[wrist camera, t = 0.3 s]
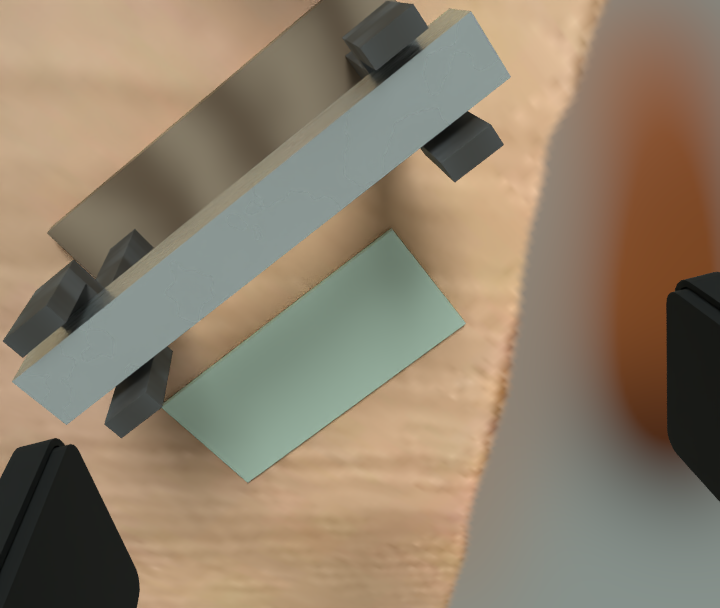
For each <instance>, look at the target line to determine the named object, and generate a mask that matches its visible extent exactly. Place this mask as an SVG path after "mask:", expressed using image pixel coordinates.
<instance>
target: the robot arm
mask: <svg viewBox="0 0 720 608" xmlns="http://www.w3.org/2000/svg"><path fill="white" fill-rule="evenodd" d="M666 307H667V308H666V310H667V431H668V436H669V440H670V443H671V445H672V447H673V449H674V451H675V452H676V453H677V455H679V457H680V458H681V459H682V460H683V461H684V462H685V463H686V465H687V466H688V467H689V468H690V469H691V470H692V471H693V472H694V473H695V475H697V477H698V478H699V479H700V480H701V481H702V482H703V483H704V485H705V486H706V487H707V488H708V489H709V490H710V491H711V492H712V494H713V495H714V496H715V497H716V498H717V499H718V500H719V501H720V272H713V273H709V274H705V275H701V276H697V277H694V278H689V279H686V280H681V281H680V282H679V283H678V284H677V286H676V288H675V292H671V293H670V294H669V295H668V297H667V304H666ZM139 591H140V589H139V578H138V574H137V570H136V568H135V566H134V564H133V562H132V560H131V557H130V555H129V553H128V551H127V549H126V547H125V545H124V543H123V541H122V539H121V537H120V535H119V533H118V531H117V529H116V527H115V524H114V522H113V520H112V518H111V516H110V514H109V512H108V510H107V508H106V506H105V504H104V502H103V500H102V498H101V496H100V494H99V491H98V489H97V487H96V485H95V483H94V481H93V479H92V477H91V475H90V473H89V471H88V469H87V467H86V465H85V463H84V461H83V458H82V456H81V454H80V452H79V451H78V449H77V448H76V447H75V446H74V445H72V444H69V445H66V446H65V445H64V443H63V442H62V441H61V440H60V439H57V438H54V439H50V440H46V441H42V442H39V443H35V444H31V445H27V446H23V447H19V448H17V449H16V450H15V451H14V453H13V454H12V456H11V458H10V460H9V462H8V464H7V466H6V468H5V470H4V472H3V474H2V476H1V478H0V608H137V604H138V598H139Z"/></svg>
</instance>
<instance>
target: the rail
mask: <svg viewBox="0 0 720 608" xmlns="http://www.w3.org/2000/svg"><path fill="white" fill-rule="evenodd" d="M510 77H511V76H510V75H509V73H508V71H507V70H506V68H505V66H504V65H503V63H502V61H501V60H500V58H499V57H498V55H497V53H496V52H495V50H494V48H493V47H492V45H491V43H490V42H489V40H488V38H487V37H486V35H485V33H484V32H483V30H482V29H481V27H480V25H479V24H478V22H477V20H476V19H475V17H474V15H473V14H472V12H471V11H466V10H458V9H450V8H449V9H448V10H447V11H446V12H444V13H443V14H442V15H441V16H439V17H438V18H437V19H436V20H434V21H433V22H432V23H431V24H430V25H428V29H427V30H426V31H425V32H423V33H422V34H421V35H420V36H418V37H417V38H416V39H415V40H414V41H412V42H411V43H410V44H409V45H407V46H406V47H405V48H404V49H402V50H401V51H400V52H399V53H397V54H396V55H395V56H394V57H393V58H391V59H390V60H389V61H388V62H386V63H385V64H384V65H383V66H381V67H380V68H379V69H378V70H377V71H376V70H373V71H372V72H370V73H369V74H368V75H367V76H366V77H364V78H363V79H362V80H361V81H359V82H358V83H357V84H356V85H354V86H353V87H352V88H351V89H350V90H348V91H347V92H346V93H345V94H343V95H342V96H341V97H340V98H338V99H337V100H336V101H335V102H334V103H332V104H331V105H330V106H329V107H327V108H326V109H325V110H324V111H322V112H321V113H320V114H319V115H318V116H316V117H315V118H314V119H313V120H311V121H310V122H309V123H308V124H306V125H305V126H304V127H303V128H302V129H300V130H299V131H298V132H297V133H295V134H294V135H293V136H292V137H290V138H289V139H288V140H287V141H286V142H284V143H283V144H282V145H281V146H279V147H278V148H277V149H276V150H274V151H273V152H272V153H271V154H270V155H268V156H267V157H266V158H265V159H263V160H262V161H261V162H260V163H258V164H257V165H256V166H255V167H254V168H252V169H251V170H250V171H249V172H247V173H246V174H245V175H244V176H242V177H241V178H240V179H239V180H238V181H236V182H235V183H234V184H233V185H231V186H230V187H229V188H228V189H226V190H225V191H224V192H223V193H222V194H220V195H219V196H218V197H217V198H215V199H214V200H213V201H212V202H210V203H209V204H208V205H207V206H206V207H204V208H203V209H202V210H201V211H199V212H198V213H197V214H196V215H194V216H193V217H192V218H191V219H190V220H188V221H187V222H186V223H185V224H183V225H182V226H181V227H180V228H178V229H177V230H176V231H175V232H174V233H172V234H171V235H170V236H169V237H167V238H166V239H165V240H164V241H162V242H161V243H160V244H159V245H158V246H156V247H155V248H154V249H153V250H151V251H150V252H149V253H148V254H146V255H145V256H144V257H143V258H142V259H140V260H139V261H138V262H137V263H135V264H134V265H133V266H132V267H130V268H129V269H128V270H127V271H126V272H124V273H123V274H122V275H121V276H119V277H118V278H117V279H116V280H114V281H113V282H112V283H111V284H109V285H108V286H107V287H106V288H105V289H103V290H102V291H101V292H100V293H98V294H97V295H96V296H95V297H93V298H92V299H91V300H90V301H89V302H87V303H86V304H85V305H84V306H82V307H81V308H80V309H79V310H77V311H76V312H75V313H74V314H73V315H71V316H70V317H69V318H68V320H67V322H66V323H65V324H64V325H62V326H61V327H60V328H59V329H57V330H56V331H55V332H54V333H52V334H51V335H50V336H49V337H48V338H46V339H45V340H44V341H43V342H41V343H40V344H39V345H38V346H36V347H35V348H34V349H33V350H32V351H30V352H29V353H28V354H27V356H26V358H25V360H24V361H23V363H22V365H21V367H20V369H19V370H18V372H17V374H16V376H15V377H14V379H13V381H12V382H13V383H14V384H15V385H17V386H18V387H19V388H21V389H22V390H23V391H24V392H26V393H27V394H28V395H29V396H31V397H32V398H33V399H34V400H36V401H37V402H38V403H39V404H41V405H42V406H43V407H45V408H46V409H47V410H48V411H50V412H51V413H52V414H53V415H55V416H56V417H57V418H58V419H60V420H61V421H62V422H63V423H65V424H66V425H67V424H68V423H70V422H71V421H72V420H73V419H75V418H76V417H77V416H78V415H80V414H81V413H82V412H84V411H85V410H86V409H87V408H89V407H90V406H91V405H93V404H94V403H95V402H96V401H98V400H99V399H100V398H101V397H103V396H104V395H105V394H107V393H108V392H109V391H110V390H112V389H113V388H114V387H116V386H117V385H118V384H119V383H121V382H122V381H123V380H124V379H126V378H127V377H128V376H130V375H131V374H132V373H133V372H135V371H136V370H137V369H139V368H140V367H141V366H142V365H144V364H145V363H146V362H147V361H149V360H150V359H151V358H153V357H154V356H155V355H156V354H158V353H159V352H160V351H162V350H163V349H164V348H165V347H167V346H168V345H169V344H170V343H172V342H173V341H174V340H176V339H177V338H178V337H179V336H181V335H182V334H183V333H185V332H186V331H187V330H188V329H190V328H191V327H192V326H193V325H195V324H196V323H197V322H199V321H200V320H201V319H202V318H204V317H205V316H206V315H207V314H209V313H210V312H211V311H213V310H214V309H215V308H216V307H218V306H219V305H220V304H222V303H223V302H224V301H225V300H227V299H228V298H229V297H230V296H232V295H233V294H234V293H236V292H237V291H238V290H239V289H241V288H242V287H243V286H245V285H246V284H247V283H248V282H250V281H251V280H252V279H253V278H255V277H256V276H257V275H259V274H260V273H261V272H262V271H264V270H265V269H266V268H268V267H269V266H270V265H271V264H273V263H274V262H275V261H276V260H278V259H279V258H280V257H282V256H283V255H284V254H285V253H287V252H288V251H289V250H291V249H292V248H293V247H294V246H296V245H297V244H298V243H299V242H301V241H302V240H303V239H305V238H306V237H307V236H308V235H310V234H311V233H312V232H314V231H315V230H316V229H317V228H319V227H320V226H321V225H322V224H324V223H325V222H326V221H328V220H329V219H330V218H331V217H333V216H334V215H335V214H337V213H338V212H339V211H340V210H342V209H343V208H344V207H345V206H347V205H348V204H349V203H351V202H352V201H353V200H354V199H356V198H357V197H358V196H360V195H361V194H362V193H363V192H365V191H366V190H367V189H368V188H370V187H371V186H372V185H374V184H375V183H376V182H377V181H379V180H380V179H381V178H382V177H384V176H385V175H386V174H388V173H389V172H390V171H391V170H393V169H394V168H395V167H397V166H398V165H399V164H400V163H402V162H403V161H404V160H405V159H407V158H408V157H409V156H411V155H412V154H413V153H414V152H416V151H417V150H418V149H420V148H421V147H422V146H423V145H425V144H426V143H427V142H428V141H430V140H431V139H432V138H434V137H435V136H436V135H437V134H439V133H440V132H441V131H443V130H444V129H445V128H446V127H448V126H449V125H450V124H451V123H453V122H454V121H455V120H457V119H458V118H459V117H460V116H462V115H463V114H464V113H466V112H467V111H468V110H469V109H471V108H472V107H473V106H474V105H476V104H477V103H478V102H480V101H481V100H482V99H483V98H485V97H486V96H487V95H489V94H490V93H491V92H492V91H494V90H495V89H496V88H497V87H499V86H500V85H501V84H503V83H504V82H505V81H506V80H508V79H509V78H510Z"/></svg>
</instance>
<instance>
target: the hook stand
mask: <svg viewBox="0 0 720 608" xmlns="http://www.w3.org/2000/svg"><path fill="white" fill-rule="evenodd" d="M427 29H428V26H427V25H426V23H425V22H424V20H423V18H422V17H421V15H420V14H419V12H418V11H417V9H416V8H415V6H414V5H413V4H408V3H400V2H397V1H396V0H321V1H319V2H318V3H317V4H316V5H315V6H314V7H312V8H311V9H310V10H309V11H308V12H306V13H305V14H304V15H303V16H302V17H300V18H299V19H298V20H297V21H296V22H295V23H293V24H292V25H291V26H290V27H289V28H287V29H286V30H285V31H284V32H283V33H281V34H280V35H279V36H278V37H277V38H275V39H274V40H273V41H272V42H271V43H270V44H268V45H267V46H266V47H265V48H264V49H262V50H261V51H260V52H259V53H258V54H256V55H255V56H254V57H253V58H252V59H251V60H249V61H248V62H247V63H246V64H245V65H243V66H242V67H241V68H240V69H239V70H237V71H236V72H235V73H234V74H233V75H232V76H230V77H229V78H228V79H227V80H226V81H224V82H223V83H222V84H221V85H220V86H218V87H217V88H216V89H215V90H214V91H213V92H211V93H210V94H209V95H208V96H207V97H205V98H204V99H203V100H202V101H201V102H199V103H198V104H197V105H196V106H195V107H194V108H192V109H191V110H190V111H189V112H188V113H186V114H185V115H184V116H183V117H182V118H180V119H179V120H178V121H177V122H176V123H175V124H173V125H172V126H171V127H170V128H169V129H167V130H166V131H165V132H164V133H163V134H161V135H160V136H159V137H158V138H157V139H155V140H154V141H153V142H152V143H151V144H150V145H148V146H147V147H146V148H145V149H144V150H142V151H141V152H140V153H139V154H138V155H136V156H135V157H134V158H133V159H132V160H131V161H129V162H128V163H127V164H126V165H125V166H123V167H122V168H121V169H120V170H119V171H117V172H116V173H115V174H114V175H113V176H112V177H110V178H109V179H108V180H107V181H106V182H104V183H103V184H102V185H101V186H100V187H98V188H97V189H96V190H95V191H94V192H93V193H91V194H90V195H89V196H88V197H87V198H85V199H84V200H83V201H82V202H81V203H79V204H78V205H77V206H76V207H75V208H74V209H72V210H71V211H70V212H69V213H68V214H66V215H65V216H64V217H63V218H62V219H60V220H59V221H58V222H57V223H56V224H55V225H53V226H52V227H51V229H50V230H49V231H48V232H47V234H49V235H50V236H51V237H52V238H53V239H54V240H55V241H56V242H57V243H58V244H59V245H60V246H61V247H63V248H64V249H65V250H66V251H67V252H68V253H69V254H70V255H71V256H72V257H73V258H74V259H75V260H77V261H78V262H79V263H80V264H81V265H82V266H83V267H84V268H85V269H86V270H87V271H88V272H89V273H91V274H92V275H93V276H94V277H95V278H96V279H94V278H93V277H92V276H91V275H90V274H89V273H88V272H87V271H86V270H85V269H84V268H82V267H81V266H80V265H79V264H78V263H77V262H76V261H75V260H73V261H71V262H70V263H69V264H68V265H67V266H65V267H64V268H63V269H62V270H61V271H59V272H58V273H57V274H56V275H55V276H53V277H52V278H51V279H50V280H48V281H47V282H46V283H45V284H44V285H42V286H41V287H40V288H39V289H38V290H36V291H35V293H34V295H33V296H32V298H31V299H30V301H29V302H28V304H27V305H26V307H25V308H24V310H23V311H22V313H21V314H20V316H19V317H18V319H17V320H16V322H15V323H14V325H13V326H12V328H11V329H10V331H9V332H8V334H7V335H6V337H5V338H4V340H3V342H4V343H5V344H7V345H8V346H9V347H10V348H12V349H13V350H14V351H15V352H16V353H18V354H19V355H20V356H21V357H24V356H25V355H27V354H28V353H29V352H30V351H32V350H33V349H34V348H35V347H36V346H38V345H39V344H40V343H41V342H43V341H44V340H45V339H46V338H48V337H49V336H50V335H51V334H52V333H54V332H55V331H56V330H57V329H59V328H60V327H61V326H62V325H64V324H65V323H66V322H67V320H68V318H69V317H70V316H71V315H73V314H74V313H75V312H76V311H77V310H79V309H80V308H81V307H82V306H84V305H85V304H86V303H87V302H89V301H90V300H91V299H92V298H93V297H95V296H96V295H97V294H98V293H100V292H101V291H102V290H103V289H105V288H106V287H107V286H108V285H109V284H111V283H112V282H113V281H114V280H116V279H117V278H118V277H119V276H121V275H122V274H123V273H124V272H126V271H127V270H128V269H129V268H130V267H132V266H133V265H134V264H135V263H137V262H138V261H139V260H140V259H142V258H143V257H144V256H145V255H146V254H148V253H149V252H150V251H151V250H153V249H154V248H155V247H156V246H158V245H159V244H160V243H161V242H162V241H164V240H165V239H166V238H167V237H169V236H170V235H171V234H172V233H174V232H175V231H176V230H177V229H178V228H180V227H181V226H182V225H183V224H185V223H186V222H187V221H188V220H190V219H191V218H192V217H193V216H194V215H196V214H197V213H198V212H199V211H201V210H202V209H203V208H204V207H206V206H207V205H208V204H209V203H210V202H212V201H213V200H214V199H215V198H217V197H218V196H219V195H220V194H222V193H223V192H224V191H225V190H226V189H228V188H229V187H230V186H231V185H233V184H234V183H235V182H236V181H238V180H239V179H240V178H241V177H242V176H244V175H245V174H246V173H247V172H249V171H250V170H251V169H252V168H254V167H255V166H256V165H257V164H258V163H260V162H261V161H262V160H263V159H265V158H266V157H267V156H268V155H270V154H271V153H272V152H273V151H274V150H276V149H277V148H278V147H279V146H281V145H282V144H283V143H284V142H286V141H287V140H288V139H289V138H290V137H292V136H293V135H294V134H295V133H297V132H298V131H299V130H300V129H302V128H303V127H304V126H305V125H306V124H308V123H309V122H310V121H311V120H313V119H314V118H315V117H316V116H318V115H319V114H320V113H321V112H322V111H324V110H325V109H326V108H327V107H329V106H330V105H331V104H332V103H334V102H335V101H336V100H337V99H338V98H340V97H341V96H342V95H343V94H345V93H346V92H347V91H348V90H350V89H351V88H352V87H353V86H354V85H356V84H357V83H358V82H359V81H361V80H362V79H363V78H364V77H366V76H367V75H368V74H369V73H370V72H372V71H373V70H376V71H377V70H378V69H379V68H380V67H381V66H383V65H384V64H385V63H386V62H388V61H389V60H390V59H391V58H393V57H394V56H395V55H396V54H397V53H399V52H400V51H401V50H402V49H404V48H405V47H406V46H407V45H409V44H410V43H411V42H412V41H414V40H415V39H416V38H417V37H418V36H420V35H421V34H422V33H423V32H425V31H426V30H427ZM503 145H504V144H503V143H502V141H501V139H500V138H499V136H498V135H497V133H496V132H495V130H494V129H493V127H492V125H491V124H489V123H487V122H485V121H484V120H482V119H480V118H478V117H477V116H475V115H473V114H471V113H470V112H468V111H467V112H466V113H464V114H463V115H462V116H460V117H459V118H458V119H457V120H455V121H454V122H453V123H451V124H450V125H449V126H448V127H446V128H445V129H444V130H443V131H441V132H440V133H439V134H437V135H436V136H435V137H434V138H432V139H431V140H430V141H428V142H427V143H426V144H425V145H423V146H422V147H421V150H422V151H423V152H424V154H425V155H426V156H427V157H428V158H429V159H430V160H431V161H432V162H433V163H435V164H436V165H437V166H438V167H439V168H440V169H441V170H442V171H443V172H444V173H445V174H446V175H447V176H448V177H450V178H451V179H452V180H453V181H454V182H456V181H457V180H459V179H460V178H461V177H463V176H464V175H465V174H467V173H468V172H469V171H470V170H472V169H473V168H474V167H476V166H477V165H478V164H480V163H481V162H482V161H483V160H485V159H486V158H487V157H489V156H490V155H491V154H493V153H494V152H495V151H496V150H498V149H499V148H500V147H502V146H503ZM172 352H173V351H172V350H171V349H170V348H169V347H168V346H167V347H165V348H164V349H163V350H162V351H160V352H159V353H158V354H156V355H155V356H154V357H153V358H151V359H150V360H149V361H147V362H146V363H145V364H144V365H142V366H141V367H140V368H139V369H137V370H136V371H135V372H133V373H132V374H131V375H130V376H128V377H127V378H126V379H124V380H123V381H122V382H121V383H119V384H118V385H117V386H116V388H115V391H114V394H113V398H112V401H111V404H110V407H109V411H108V414H107V417H106V420H105V425H106V426H107V427H108V428H109V429H111V430H112V431H113V432H114V433H116V434H117V435H118V436H119V437H120V438H122V437H124V436H125V435H126V434H128V433H129V432H130V431H132V430H133V429H134V428H135V427H137V426H138V425H139V424H141V423H142V422H143V421H145V420H146V419H147V418H149V417H150V416H151V415H152V414H154V413H155V412H156V411H158V410H159V409H160V408H162V407H163V402H164V396H165V391H166V385H167V380H168V374H169V369H170V363H171V358H172Z"/></svg>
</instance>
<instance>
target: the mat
mask: <svg viewBox="0 0 720 608" xmlns="http://www.w3.org/2000/svg"><path fill="white" fill-rule="evenodd" d="M464 324H466V323H465V322H464V320H463V319H462V318H461V316H460V315H459V314H458V313H457V311H456V310H455V309H454V308H453V306H452V305H451V304H450V302H449V301H448V300H447V299H446V297H445V296H444V295H443V293H442V292H441V291H440V290H439V288H438V287H437V286H436V285H435V283H434V282H433V281H432V279H431V278H430V277H429V276H428V274H427V273H426V272H425V271H424V269H423V268H422V267H421V265H420V264H419V263H418V262H417V260H416V259H415V258H414V256H413V255H412V254H411V253H410V251H409V250H408V249H407V248H406V246H405V245H404V244H403V242H402V241H401V240H400V239H399V237H398V236H397V235H396V234H395V232H394V231H393V230H392V228H391V229H389V230H388V231H387V232H386V233H384V234H383V235H382V236H380V237H379V238H378V239H376V240H375V241H374V242H373V243H371V244H370V245H369V246H367V247H366V248H365V249H363V250H362V251H361V252H360V253H358V254H357V255H356V256H354V257H353V258H352V259H350V260H349V261H348V262H347V263H345V264H344V265H343V266H341V267H340V268H339V269H337V270H336V271H335V272H333V273H332V274H331V275H330V276H328V277H327V278H326V279H324V280H323V281H322V282H320V283H319V284H318V285H317V286H315V287H314V288H313V289H311V290H310V291H309V292H307V293H306V294H305V295H304V296H302V297H301V298H300V299H298V300H297V301H296V302H294V303H293V304H292V305H291V306H289V307H288V308H287V309H285V310H284V311H283V312H281V313H280V314H279V315H278V316H276V317H275V318H274V319H272V320H271V321H270V322H268V323H267V324H266V325H264V326H263V327H262V328H261V329H259V330H258V331H257V332H255V333H254V334H253V335H251V336H250V337H249V338H248V339H246V340H245V341H244V342H242V343H241V344H240V345H238V346H237V347H236V348H235V349H233V350H232V351H231V352H229V353H228V354H227V355H225V356H224V357H223V358H222V359H220V360H219V361H218V362H216V363H215V364H214V365H212V366H211V367H210V368H209V369H207V370H206V371H205V372H203V373H202V374H201V375H199V376H198V377H197V378H195V379H194V380H193V381H192V382H190V383H189V384H188V385H186V386H185V387H184V388H182V389H181V390H180V391H179V392H177V393H176V394H175V395H173V396H172V397H171V398H169V399H168V400H167V401H166V402H164V403H163V407H162V408H163V409H164V410H165V411H166V412H167V413H168V414H169V415H171V416H172V417H173V418H174V419H175V420H176V421H177V422H179V423H180V424H181V425H182V426H183V427H184V428H185V429H187V430H188V431H189V432H190V433H191V434H192V435H194V436H195V437H196V438H197V439H198V440H199V441H200V442H202V443H203V444H204V445H205V446H206V447H207V448H208V449H210V450H211V451H212V452H213V453H214V454H215V455H216V456H218V457H219V458H220V459H221V460H222V461H223V462H224V463H226V464H227V465H228V466H229V467H230V468H231V469H233V470H234V471H235V472H236V473H237V474H238V475H239V476H241V477H242V478H243V479H244V480H245V481H246V482H247V483H248V482H249V481H251V480H252V479H253V478H255V477H256V476H258V475H259V474H260V473H262V472H263V471H264V470H266V469H267V468H269V467H270V466H271V465H273V464H274V463H275V462H277V461H278V460H279V459H281V458H282V457H284V456H285V455H286V454H288V453H289V452H290V451H292V450H293V449H295V448H296V447H297V446H299V445H300V444H301V443H303V442H304V441H306V440H307V439H308V438H310V437H311V436H312V435H314V434H315V433H316V432H318V431H319V430H321V429H322V428H323V427H325V426H326V425H327V424H329V423H330V422H332V421H333V420H334V419H336V418H337V417H338V416H340V415H341V414H343V413H344V412H345V411H347V410H348V409H349V408H351V407H352V406H353V405H355V404H356V403H358V402H359V401H360V400H362V399H363V398H364V397H366V396H367V395H369V394H370V393H371V392H373V391H374V390H375V389H377V388H378V387H380V386H381V385H382V384H384V383H385V382H386V381H388V380H389V379H390V378H392V377H393V376H395V375H396V374H397V373H399V372H400V371H401V370H403V369H404V368H406V367H407V366H408V365H410V364H411V363H412V362H414V361H415V360H417V359H418V358H419V357H421V356H422V355H423V354H425V353H426V352H427V351H429V350H430V349H432V348H433V347H434V346H436V345H437V344H438V343H440V342H441V341H443V340H444V339H445V338H447V337H448V336H449V335H451V334H452V333H454V332H455V331H456V330H458V329H459V328H460V327H462V326H463V325H464Z"/></svg>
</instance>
